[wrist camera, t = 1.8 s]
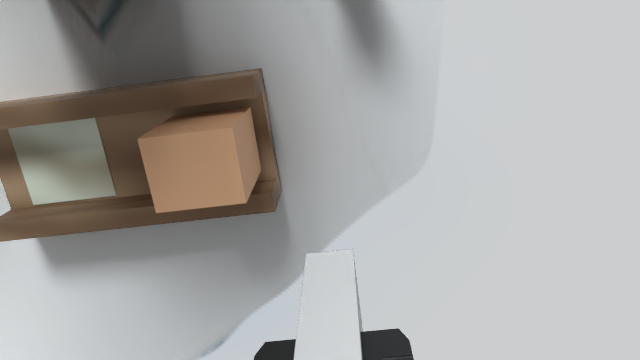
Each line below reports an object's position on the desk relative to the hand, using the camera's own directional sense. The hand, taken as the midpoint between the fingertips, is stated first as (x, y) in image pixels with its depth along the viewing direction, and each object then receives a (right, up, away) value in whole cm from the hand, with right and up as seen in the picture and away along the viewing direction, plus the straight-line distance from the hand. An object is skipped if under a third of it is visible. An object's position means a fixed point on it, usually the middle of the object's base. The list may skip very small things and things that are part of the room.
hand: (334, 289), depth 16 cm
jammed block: (-8, +6, +22) cm, 24 cm away
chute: (-15, +6, +24) cm, 29 cm away
